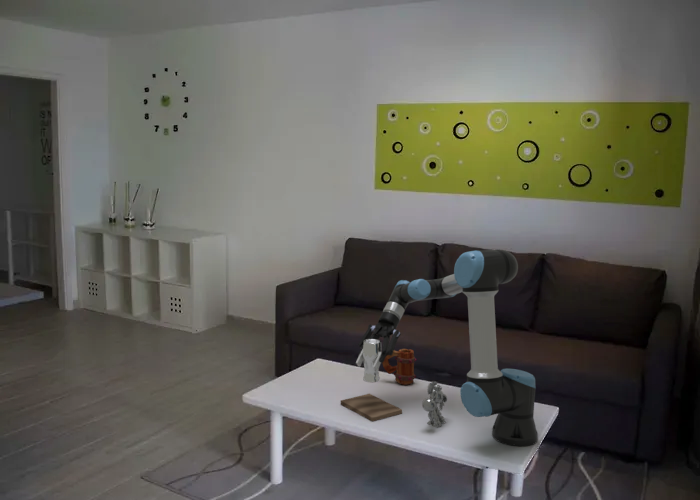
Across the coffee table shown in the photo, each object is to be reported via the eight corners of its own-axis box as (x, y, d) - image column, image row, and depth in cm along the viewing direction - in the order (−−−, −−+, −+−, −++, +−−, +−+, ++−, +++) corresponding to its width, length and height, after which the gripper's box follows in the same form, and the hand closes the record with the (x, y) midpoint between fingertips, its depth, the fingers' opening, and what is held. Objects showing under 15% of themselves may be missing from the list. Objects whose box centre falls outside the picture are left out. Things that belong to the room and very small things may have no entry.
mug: (415, 380, 275) (417, 346, 273) (416, 386, 267) (417, 351, 265) (381, 378, 277) (382, 344, 275) (380, 385, 269) (381, 350, 267)
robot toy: (433, 433, 221) (434, 391, 219) (417, 429, 224) (418, 388, 222) (450, 419, 233) (451, 380, 231) (434, 416, 236) (436, 376, 234)
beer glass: (359, 377, 243) (360, 339, 241) (376, 376, 245) (377, 338, 243) (366, 383, 236) (367, 344, 234) (383, 382, 239) (384, 343, 237)
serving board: (402, 413, 238) (402, 409, 238) (372, 421, 230) (372, 417, 230) (369, 397, 254) (369, 393, 254) (340, 404, 246) (340, 400, 246)
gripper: (416, 325, 245) (392, 377, 234) (373, 317, 256) (348, 366, 245) (410, 314, 240) (385, 367, 229) (366, 306, 251) (340, 356, 240)
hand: (366, 366), depth 237 cm, fingers closed on beer glass, 7 cm apart
